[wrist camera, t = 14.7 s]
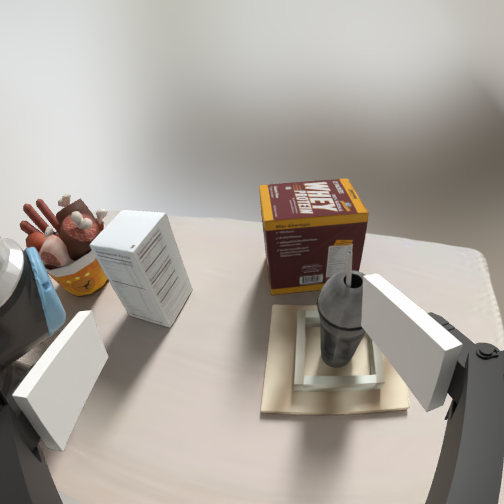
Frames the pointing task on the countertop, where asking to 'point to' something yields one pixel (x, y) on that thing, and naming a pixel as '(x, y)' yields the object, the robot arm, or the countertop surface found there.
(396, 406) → the cup holder
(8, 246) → the robot arm
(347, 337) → the beverage cup
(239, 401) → the countertop surface
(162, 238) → the supplement box
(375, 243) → the countertop surface
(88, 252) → the bucket of meat
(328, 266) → the supplement box
